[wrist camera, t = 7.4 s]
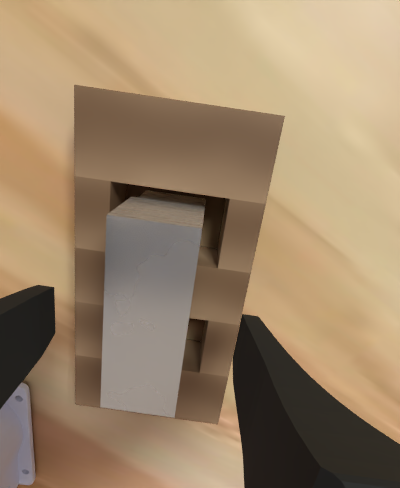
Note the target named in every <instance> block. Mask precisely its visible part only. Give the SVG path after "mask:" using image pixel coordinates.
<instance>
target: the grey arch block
mask: <svg viewBox="0 0 400 488" xmlns="http://www.w3.org/2000/svg"><path fill="white" fill-rule="evenodd" d="M205 202H206V199H204V198H197V197H190V196H183V195H176V194H170V193H163V192H156V191H149V190H146V191H145V192H144V193H142V194H141V195H140V196H139V197H130V198H129V199H127V200H126V201H125V202H123V203H122V204H121V205H119V206H118V207H116V208H115V209H114V210H112V211H111V212H110V213H108V214H107V217H106V247H105V278H104V309H103V340H102V370H101V401H100V407H102V408H109V409H116V410H123V411H130V412H137V413H144V414H151V415H159V416H166V417H173V418H175V411H176V404H177V397H178V390H179V384H180V377H181V370H182V363H183V356H184V350H185V343H186V336H187V329H188V322H189V316H190V309H191V302H192V295H193V288H194V282H195V275H196V268H197V261H198V254H199V248H200V241H201V234H202V227H203V219H204V211H205Z"/></svg>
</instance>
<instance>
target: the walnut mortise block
mask: <svg viewBox="0 0 400 488" xmlns="http://www.w3.org/2000/svg"><path fill="white" fill-rule="evenodd" d="M284 117H285V116H281V115H274V114H267V113H261V112H254V111H247V110H241V109H234V108H227V107H220V106H214V105H207V104H200V103H193V102H187V101H180V100H173V99H167V98H160V97H153V96H146V95H140V94H133V93H126V92H119V91H113V90H106V89H99V88H93V87H86V86H79V85H74V133H75V401H76V404H78V405H85V406H92V407H99V408H102V407H100V401H101V370H102V340H103V309H104V278H105V247H106V217H107V214H108V213H110V212H111V211H112V210H114V209H115V208H116V207H118V206H119V205H121V204H122V203H123V202H125V201H126V184H133V185H140V186H146V187H153V188H160V189H167V190H174V191H180V192H187V193H194V194H201V195H208V196H214V197H221V198H226V200H225V206H224V212H223V218H222V224H221V229H220V235H219V241H218V247H217V249H215V248H208V247H201V246H200V248H199V254H198V261H197V268H196V275H195V282H194V288H193V295H192V302H191V309H190V316H189V318H193V319H200V320H205V324H204V330H203V335H202V341H201V342H200V341H193V340H186V343H185V350H184V356H183V363H182V370H181V377H180V384H179V390H178V397H177V404H176V411H175V418H176V419H183V420H190V421H197V422H205V423H212V424H218V421H219V417H220V412H221V407H222V403H223V398H224V393H225V389H226V384H227V380H228V375H229V370H230V366H231V361H232V357H233V352H234V347H235V343H236V338H237V334H238V329H239V324H240V320H241V315H242V311H243V306H244V301H245V297H246V292H247V288H248V283H249V278H250V274H251V269H252V265H253V260H254V255H255V251H256V246H257V242H258V237H259V232H260V228H261V223H262V219H263V214H264V209H265V205H266V200H267V195H268V191H269V186H270V182H271V177H272V172H273V168H274V163H275V159H276V154H277V149H278V145H279V140H280V136H281V131H282V126H283V122H284ZM106 409H109V408H106ZM113 410H116V409H113ZM120 411H123V410H120ZM127 412H130V411H127ZM134 413H137V412H134ZM141 414H144V413H141ZM148 415H151V414H148ZM155 416H159V415H155ZM162 417H166V416H162ZM169 418H173V417H169Z"/></svg>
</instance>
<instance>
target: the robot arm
mask: <svg viewBox="0 0 400 488" xmlns="http://www.w3.org/2000/svg"><path fill="white" fill-rule="evenodd" d="M54 334H55V303H54V287H48V286H41V285H37V286H33V287H30V288H27V289H24V290H22V291H19V292H16V293H14V294H11V295H9V296H6V297H4V298H1V299H0V488H17V486H18V485H19V484H22V485H31V484H32V483H33V482H34V480H35V478H36V475H35V461H34V447H33V433H32V419H31V405H30V391H29V387H28V386H27V385H26V384H25V383H22V381H23V380H24V379H25V377H26V376H27V375H28V373H29V372H30V371H31V369H32V368H33V367H34V366H35V364H36V363H37V362H38V360H39V359H40V358H41V356H42V355H43V353H44V351H45V350H46V348H47V347H48V345H49V343H50V341H51V339H52V338H53V336H54ZM233 385H234V392H235V400H236V407H237V414H238V421H239V428H240V435H241V442H242V451H243V465H244V485H245V488H400V444H398V443H397V442H395V441H394V440H392V439H391V438H389V437H388V436H386V435H385V434H383V433H382V432H380V431H379V430H377V429H376V428H374V427H373V426H371V425H370V424H368V423H367V422H365V421H364V420H363V419H361V418H360V417H358V416H357V415H356V414H354V413H353V412H352V411H350V410H349V409H348V408H347V407H345V406H344V405H343V404H341V403H340V402H339V401H338V400H336V399H335V398H334V397H333V396H332V395H330V394H329V393H328V392H327V391H326V390H325V389H323V388H322V387H321V386H320V385H319V384H318V383H317V382H316V381H315V380H313V379H312V378H311V377H310V376H309V375H308V374H307V373H306V372H305V371H304V370H303V369H302V368H301V367H300V366H299V365H298V363H297V362H296V361H295V360H294V359H293V358H292V357H291V356H290V355H289V354H288V353H287V351H286V350H285V349H284V348H283V347H282V346H281V344H280V343H279V342H278V341H277V340H276V338H275V337H274V336H273V335H272V333H271V332H270V331H269V330H268V328H267V327H266V326H265V324H264V323H263V322H262V321H261V319H260V318H259V317H258V316H251V315H244V314H242V318H241V322H240V327H239V331H238V336H237V341H236V345H235V350H234V355H233Z"/></svg>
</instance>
